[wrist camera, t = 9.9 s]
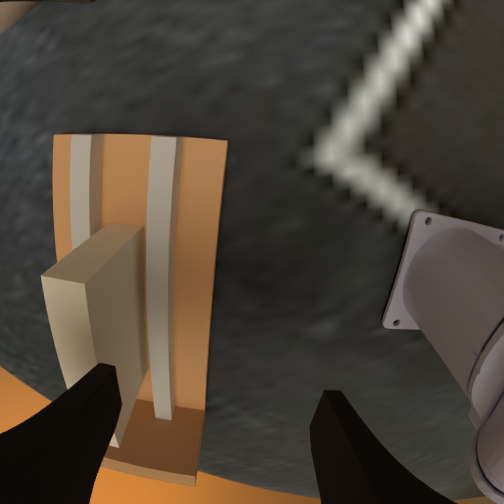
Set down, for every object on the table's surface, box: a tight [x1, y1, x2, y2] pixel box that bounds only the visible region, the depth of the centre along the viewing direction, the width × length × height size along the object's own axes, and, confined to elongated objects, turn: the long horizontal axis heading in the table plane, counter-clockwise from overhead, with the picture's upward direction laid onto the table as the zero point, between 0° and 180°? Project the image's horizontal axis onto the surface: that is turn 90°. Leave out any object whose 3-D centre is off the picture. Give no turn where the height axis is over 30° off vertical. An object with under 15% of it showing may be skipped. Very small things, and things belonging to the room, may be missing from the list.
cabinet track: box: [53, 134, 229, 486], centre depth 16 cm, size 10×20×7 cm, turn 173°
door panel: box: [41, 223, 148, 448], centre depth 15 cm, size 2×10×7 cm, turn 173°
